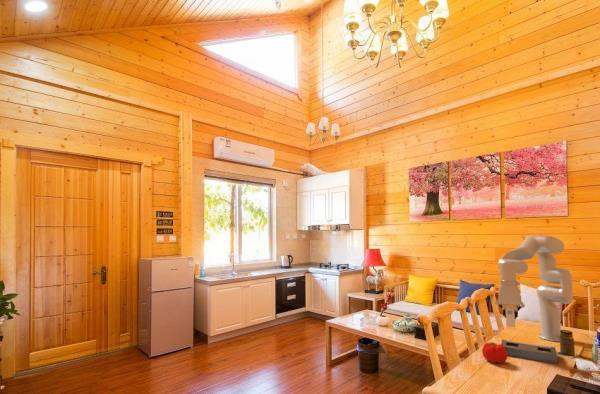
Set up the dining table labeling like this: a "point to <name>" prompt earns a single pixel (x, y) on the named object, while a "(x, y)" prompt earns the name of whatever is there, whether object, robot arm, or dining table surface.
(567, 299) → the robot arm
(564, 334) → the condiment
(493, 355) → the tomato
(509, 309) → the plug
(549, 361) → the panel
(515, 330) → the dining table surface
